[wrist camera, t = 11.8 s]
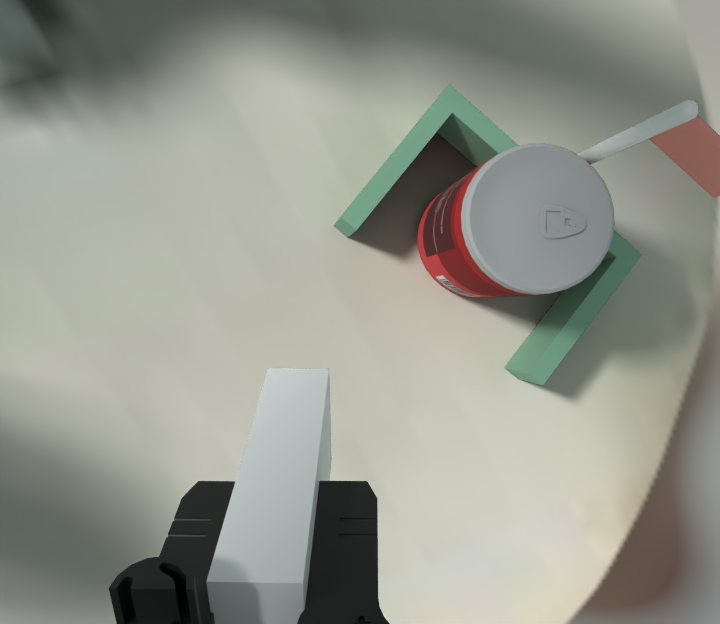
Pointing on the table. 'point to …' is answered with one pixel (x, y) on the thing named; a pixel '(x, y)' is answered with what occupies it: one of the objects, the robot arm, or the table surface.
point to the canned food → (518, 225)
